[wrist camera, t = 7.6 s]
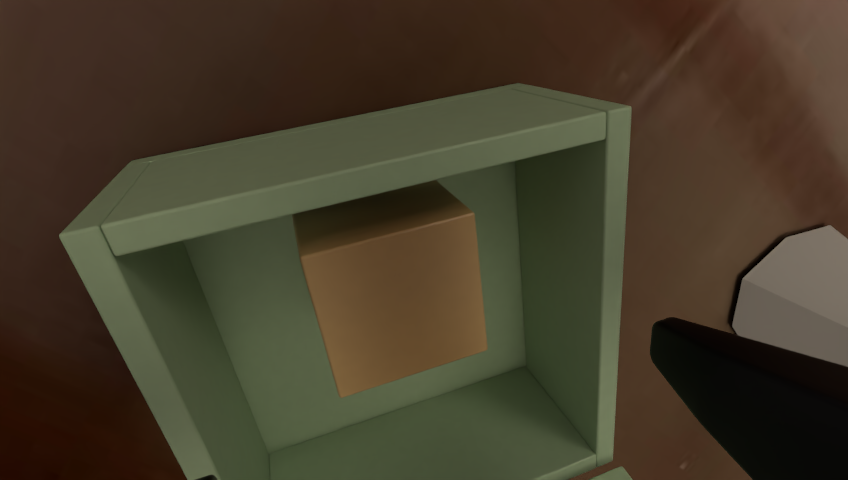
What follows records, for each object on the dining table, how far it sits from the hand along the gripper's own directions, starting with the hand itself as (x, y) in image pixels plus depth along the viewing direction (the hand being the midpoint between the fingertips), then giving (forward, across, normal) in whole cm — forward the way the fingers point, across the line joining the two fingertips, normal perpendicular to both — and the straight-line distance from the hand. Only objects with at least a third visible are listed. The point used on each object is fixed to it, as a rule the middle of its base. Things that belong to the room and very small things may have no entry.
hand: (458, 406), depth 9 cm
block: (+8, 0, 0) cm, 8 cm away
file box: (+9, 0, +2) cm, 9 cm away
